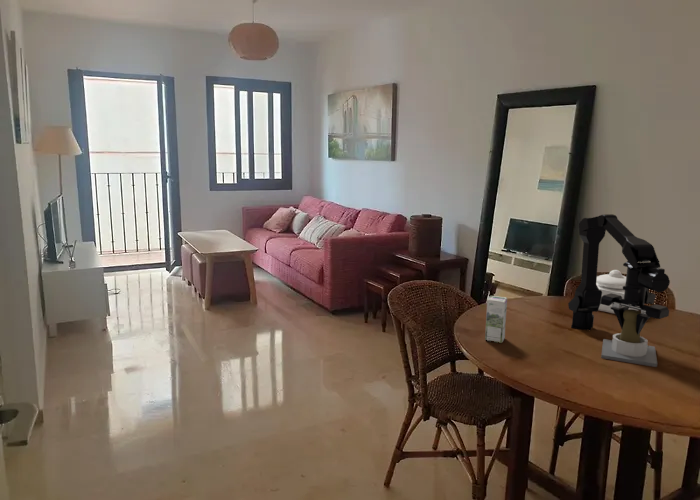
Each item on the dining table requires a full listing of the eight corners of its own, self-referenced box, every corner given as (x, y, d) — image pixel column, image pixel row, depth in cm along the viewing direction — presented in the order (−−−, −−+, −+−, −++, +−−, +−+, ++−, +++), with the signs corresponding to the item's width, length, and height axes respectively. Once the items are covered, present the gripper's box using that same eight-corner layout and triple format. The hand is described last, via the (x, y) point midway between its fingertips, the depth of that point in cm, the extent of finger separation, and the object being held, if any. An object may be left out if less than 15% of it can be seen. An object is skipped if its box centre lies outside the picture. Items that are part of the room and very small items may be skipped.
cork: (642, 348, 165) (646, 313, 163) (621, 346, 166) (625, 312, 164) (636, 341, 171) (640, 308, 169) (616, 340, 172) (619, 306, 170)
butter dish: (600, 299, 231) (604, 262, 228) (645, 308, 218) (649, 270, 215) (581, 306, 220) (585, 268, 217) (627, 317, 207) (632, 276, 204)
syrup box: (504, 338, 182) (507, 296, 179) (502, 343, 177) (504, 301, 174) (487, 335, 184) (490, 294, 182) (484, 341, 179) (486, 299, 176)
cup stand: (601, 358, 165) (602, 342, 164) (603, 341, 179) (604, 327, 178) (656, 367, 159) (658, 351, 158) (654, 349, 173) (656, 334, 172)
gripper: (681, 286, 162) (674, 336, 165) (621, 274, 177) (616, 319, 180) (661, 291, 156) (655, 343, 159) (601, 278, 171) (597, 325, 174)
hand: (630, 332), depth 168 cm, fingers closed on cork, 4 cm apart
